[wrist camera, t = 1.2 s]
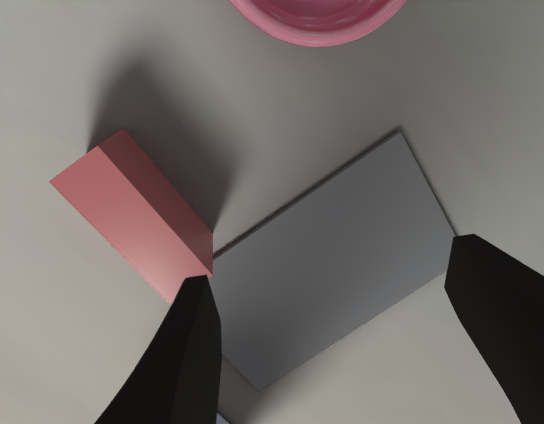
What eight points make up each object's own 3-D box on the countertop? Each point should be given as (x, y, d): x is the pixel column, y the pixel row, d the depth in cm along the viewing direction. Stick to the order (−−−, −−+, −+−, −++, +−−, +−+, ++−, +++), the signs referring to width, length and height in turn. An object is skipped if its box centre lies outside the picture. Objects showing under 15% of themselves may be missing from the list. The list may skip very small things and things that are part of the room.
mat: (257, 387, 33) (258, 391, 32) (164, 291, 28) (163, 295, 28) (463, 254, 31) (466, 257, 30) (397, 130, 26) (400, 131, 26)
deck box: (178, 256, 28) (170, 304, 22) (86, 155, 24) (48, 181, 19) (212, 233, 27) (212, 275, 22) (123, 127, 24) (97, 145, 18)
